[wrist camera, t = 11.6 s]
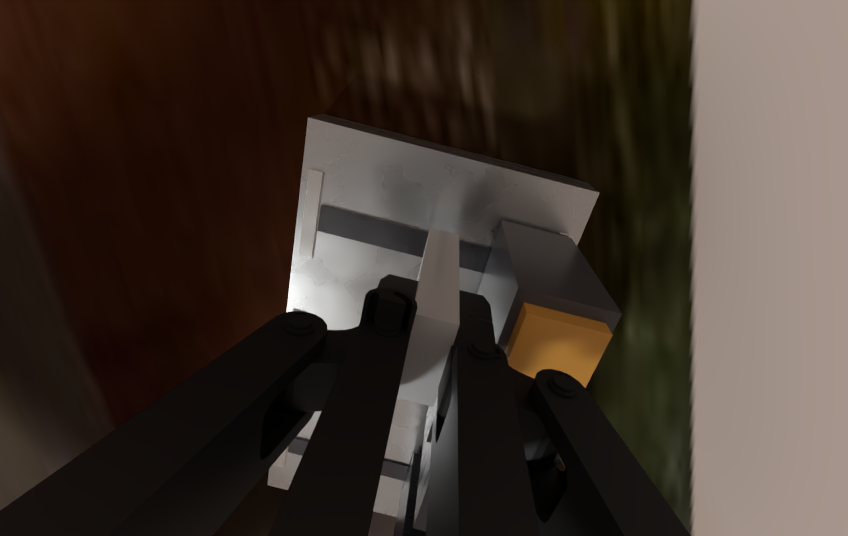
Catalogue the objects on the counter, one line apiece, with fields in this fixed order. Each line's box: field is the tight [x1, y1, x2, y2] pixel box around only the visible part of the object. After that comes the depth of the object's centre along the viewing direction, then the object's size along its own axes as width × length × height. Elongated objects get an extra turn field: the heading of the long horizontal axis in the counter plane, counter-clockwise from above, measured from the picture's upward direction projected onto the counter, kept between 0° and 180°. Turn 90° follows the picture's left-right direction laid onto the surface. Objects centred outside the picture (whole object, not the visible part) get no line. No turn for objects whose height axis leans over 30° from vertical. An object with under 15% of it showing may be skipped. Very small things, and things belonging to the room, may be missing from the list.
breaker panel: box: [267, 114, 599, 536], centre depth 19 cm, size 12×22×8 cm, turn 167°
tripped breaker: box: [477, 220, 622, 388], centre depth 15 cm, size 3×4×7 cm
